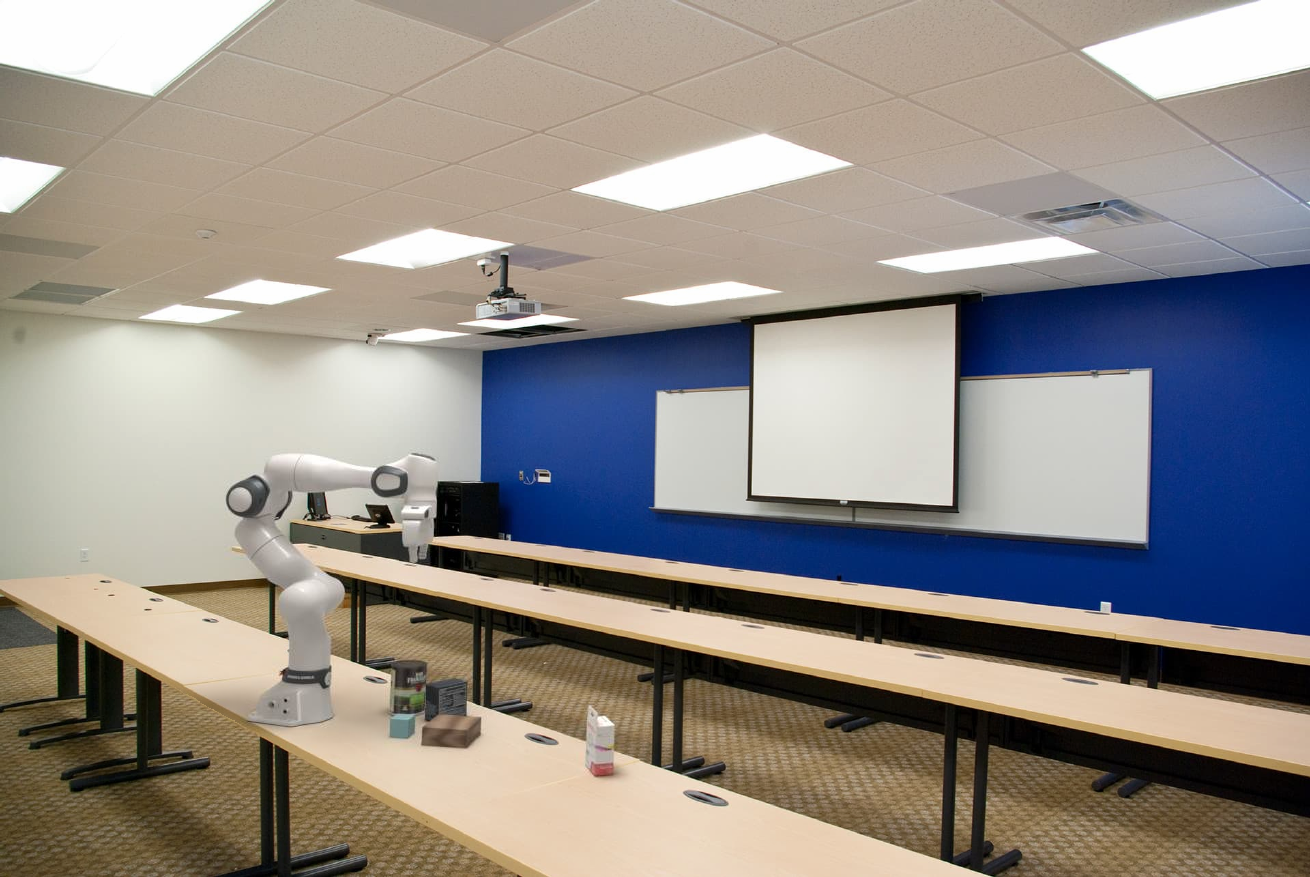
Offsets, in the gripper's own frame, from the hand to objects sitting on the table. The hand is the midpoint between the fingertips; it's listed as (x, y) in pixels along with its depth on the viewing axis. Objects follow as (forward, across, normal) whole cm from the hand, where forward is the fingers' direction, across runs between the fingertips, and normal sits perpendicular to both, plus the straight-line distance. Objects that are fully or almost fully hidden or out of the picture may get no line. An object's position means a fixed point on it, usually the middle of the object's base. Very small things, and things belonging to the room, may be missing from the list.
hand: (417, 560), depth 239 cm
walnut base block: (+46, +12, +14) cm, 49 cm away
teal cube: (+46, +9, 0) cm, 47 cm away
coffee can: (+46, -13, -4) cm, 48 cm away
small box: (+46, -7, +8) cm, 47 cm away
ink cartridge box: (+46, +31, +54) cm, 77 cm away
